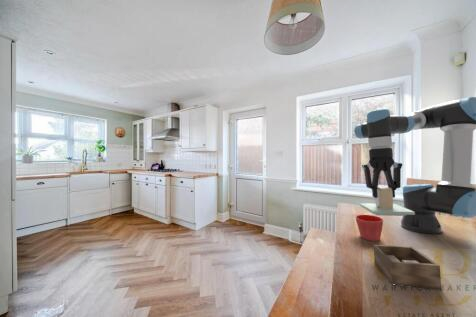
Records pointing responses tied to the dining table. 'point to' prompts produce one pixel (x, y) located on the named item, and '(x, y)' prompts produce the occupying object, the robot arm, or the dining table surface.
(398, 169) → the robot arm
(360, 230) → the flower pot
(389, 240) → the dining table surface
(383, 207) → the lid
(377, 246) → the crate
